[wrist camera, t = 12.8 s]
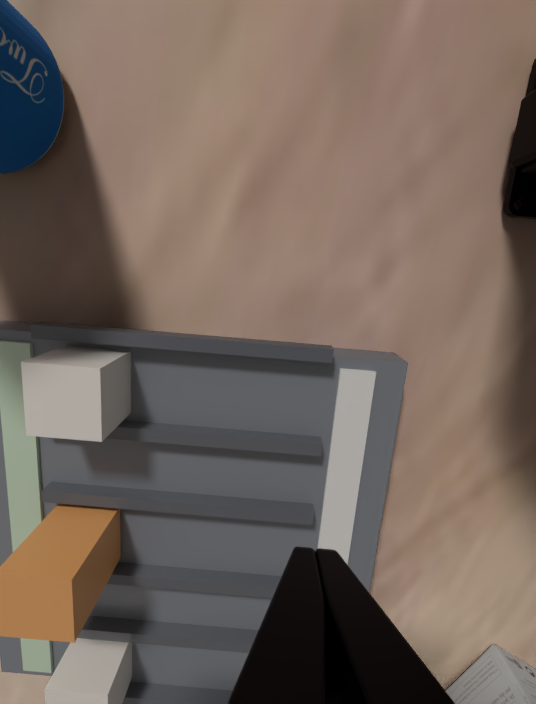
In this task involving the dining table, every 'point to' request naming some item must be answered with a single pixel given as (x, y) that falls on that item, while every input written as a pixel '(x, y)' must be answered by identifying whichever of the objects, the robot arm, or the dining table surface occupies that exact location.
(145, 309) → the dining table surface
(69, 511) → the handle
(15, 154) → the beverage can
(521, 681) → the supplement box
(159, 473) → the board
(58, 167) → the dining table surface
